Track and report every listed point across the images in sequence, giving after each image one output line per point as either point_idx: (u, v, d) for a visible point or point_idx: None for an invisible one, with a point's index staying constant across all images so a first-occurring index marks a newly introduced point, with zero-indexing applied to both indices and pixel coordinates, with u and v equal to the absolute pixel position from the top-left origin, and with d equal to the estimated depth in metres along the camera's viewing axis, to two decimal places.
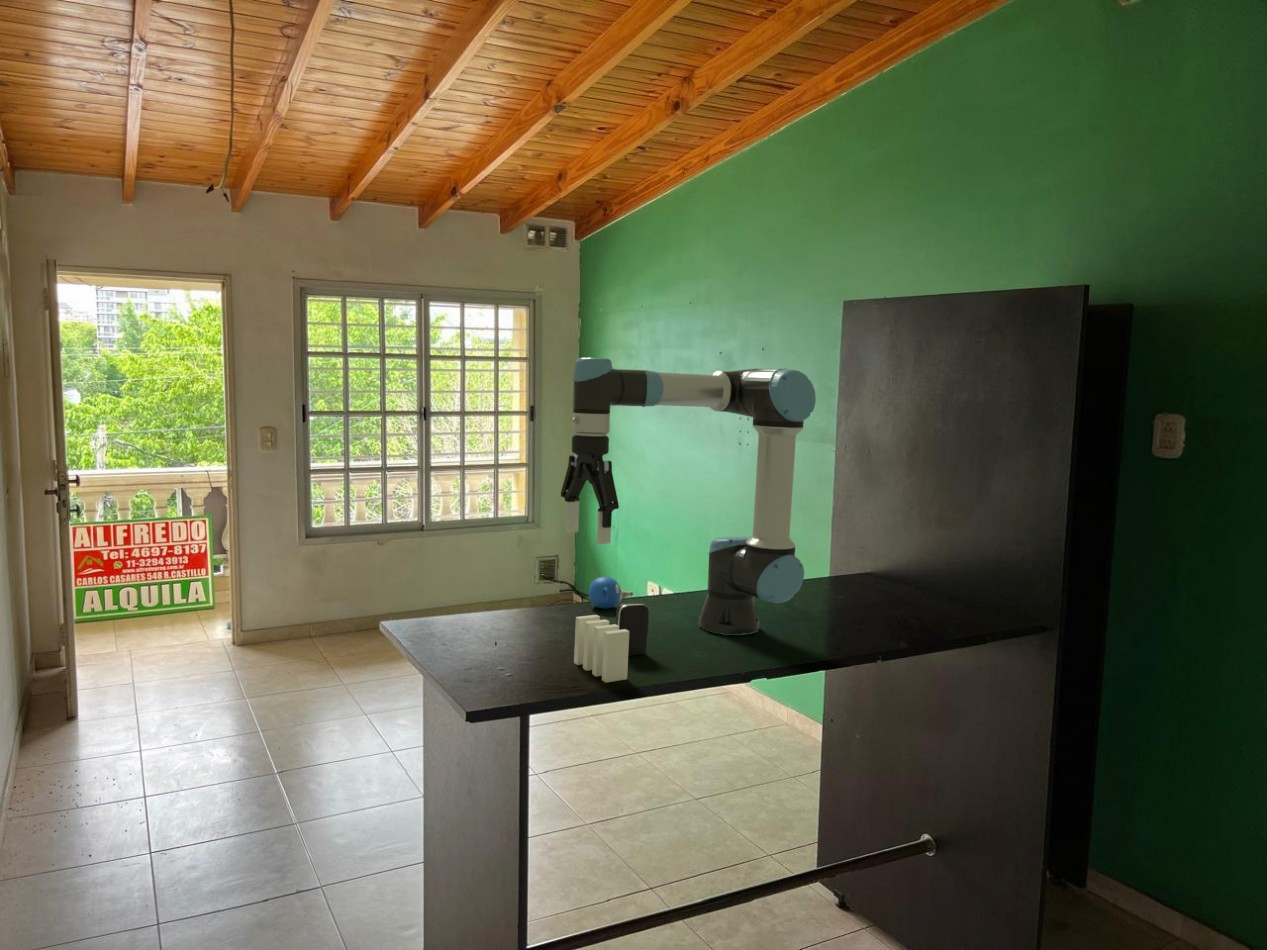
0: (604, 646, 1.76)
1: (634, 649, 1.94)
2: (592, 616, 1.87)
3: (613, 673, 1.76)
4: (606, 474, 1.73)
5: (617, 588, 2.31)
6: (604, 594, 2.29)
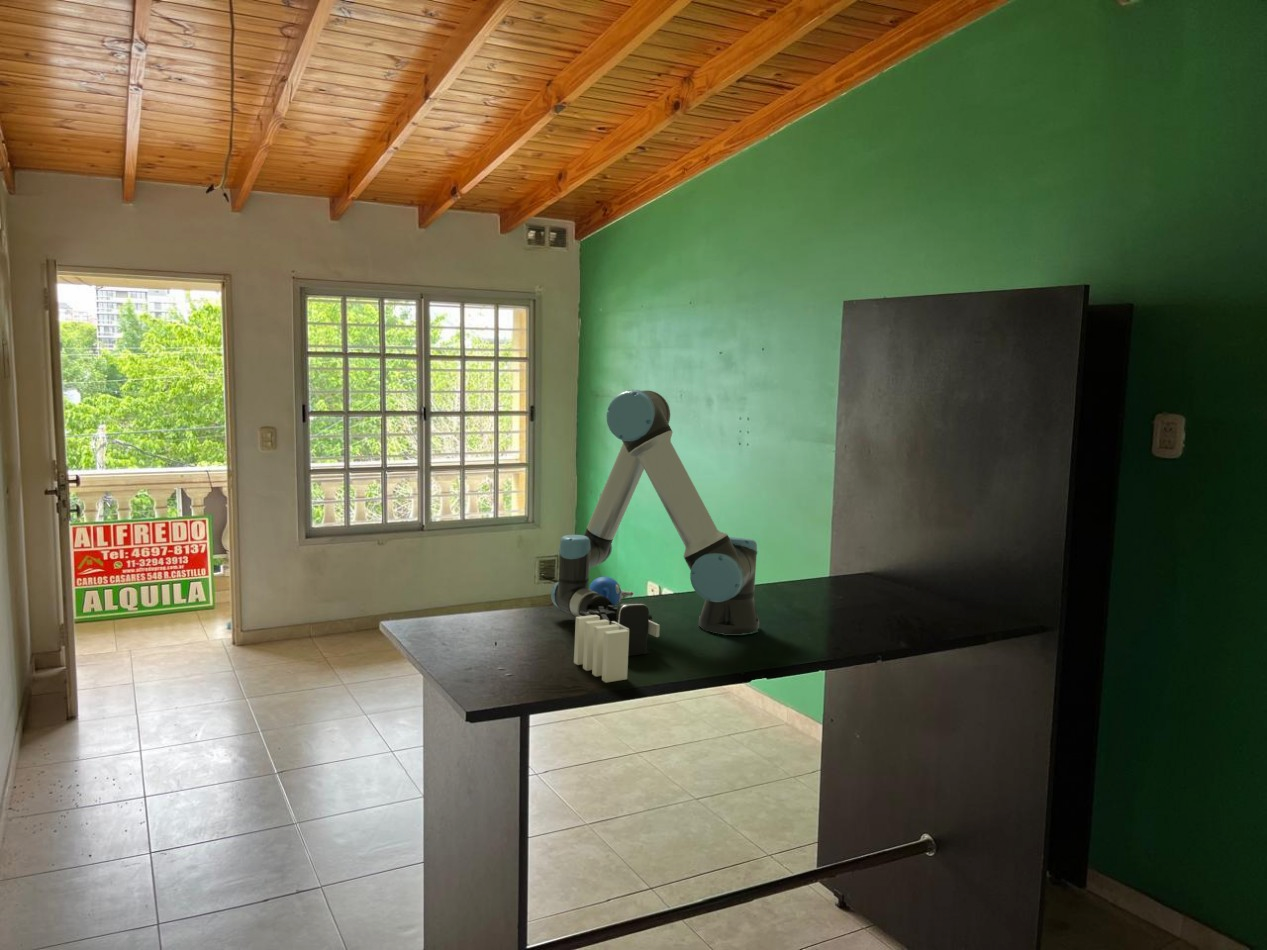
0: (604, 646, 1.76)
1: (634, 649, 1.94)
2: (592, 616, 1.87)
3: (613, 673, 1.76)
4: None
5: (617, 588, 2.31)
6: (604, 594, 2.29)
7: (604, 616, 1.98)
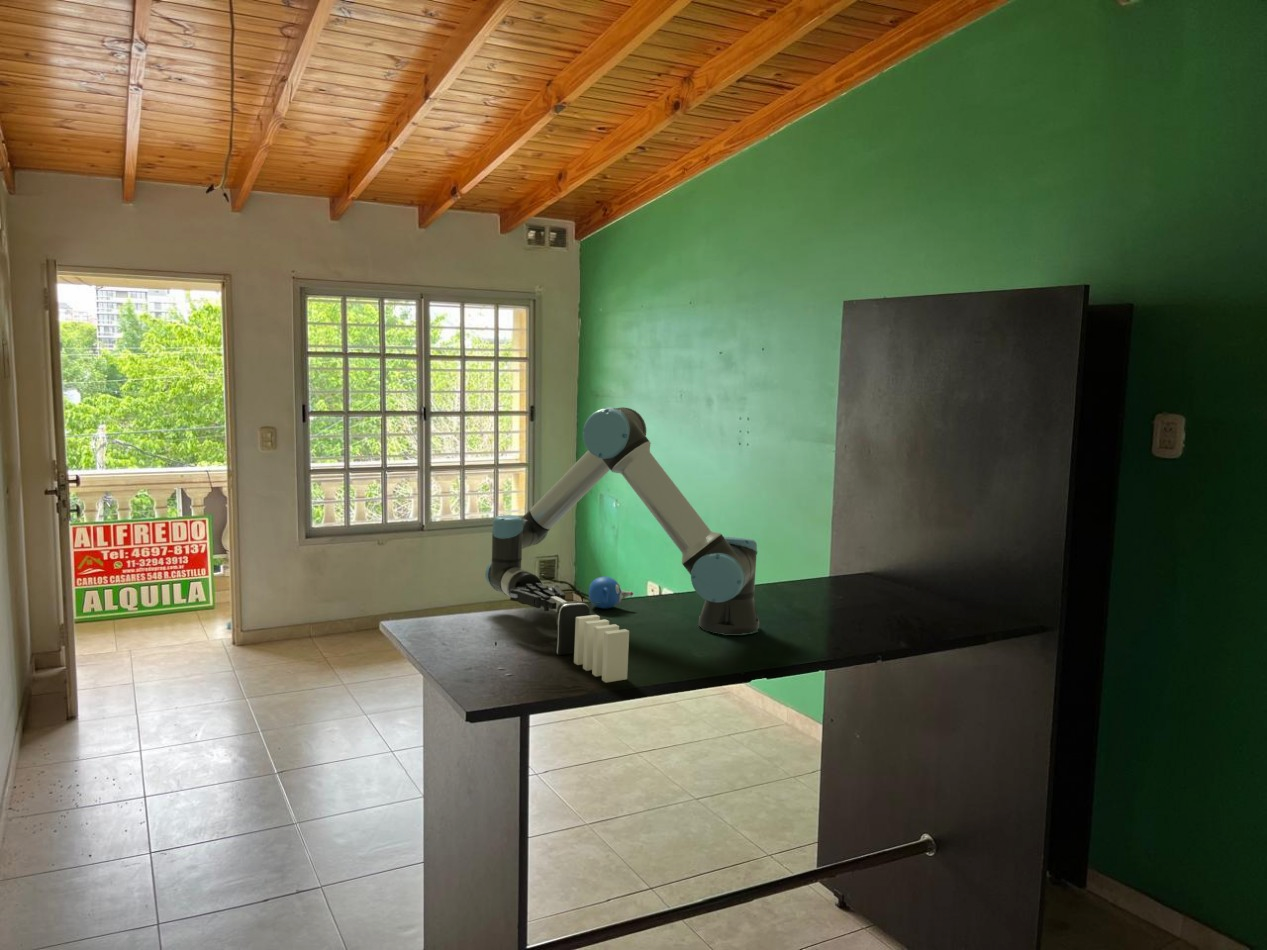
0: (604, 646, 1.76)
1: None
2: (592, 616, 1.87)
3: (613, 673, 1.76)
4: (518, 597, 2.04)
5: (617, 588, 2.31)
6: (604, 594, 2.29)
7: (538, 592, 2.03)
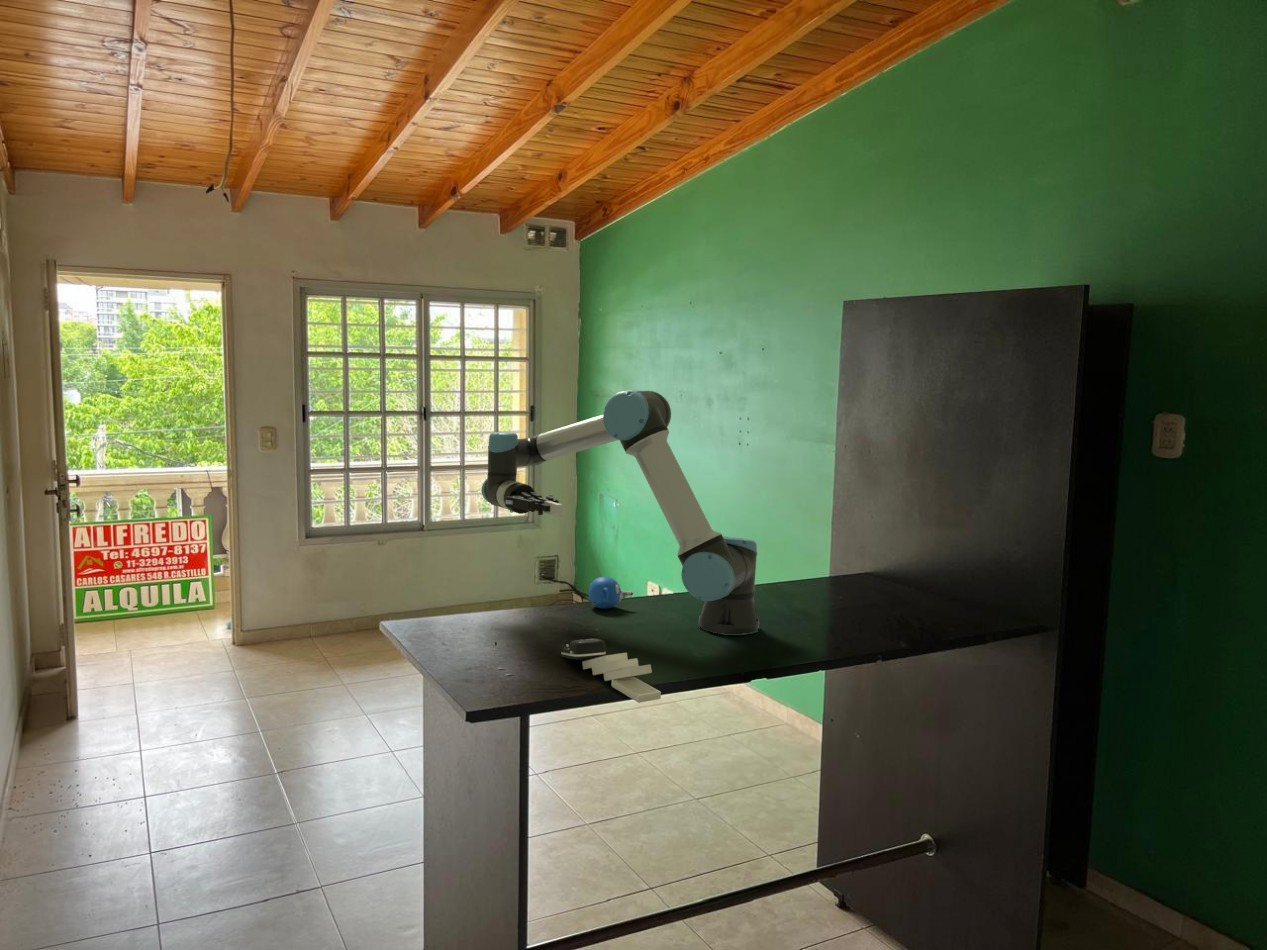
0: (630, 692, 1.68)
1: None
2: (621, 658, 1.77)
3: None
4: (513, 503, 2.11)
5: (617, 588, 2.31)
6: (604, 594, 2.29)
7: (533, 498, 2.11)
